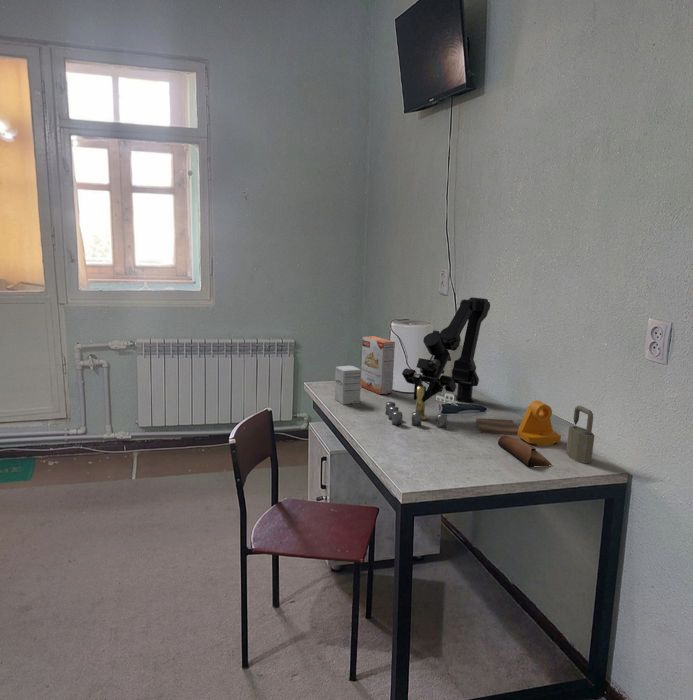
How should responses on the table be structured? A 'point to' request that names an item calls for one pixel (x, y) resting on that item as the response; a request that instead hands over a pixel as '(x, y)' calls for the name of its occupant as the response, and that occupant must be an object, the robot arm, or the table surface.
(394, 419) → the cylinder
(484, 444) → the table surface
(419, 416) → the dark gray domed cylinder
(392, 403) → the dark grey domed cylinder
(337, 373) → the supplement box
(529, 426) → the bracket
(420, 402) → the brass pin
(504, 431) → the board
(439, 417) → the cylinder
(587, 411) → the padlock
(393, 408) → the dark grey domed cylinder
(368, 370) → the cracker box
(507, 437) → the sunglasses case
